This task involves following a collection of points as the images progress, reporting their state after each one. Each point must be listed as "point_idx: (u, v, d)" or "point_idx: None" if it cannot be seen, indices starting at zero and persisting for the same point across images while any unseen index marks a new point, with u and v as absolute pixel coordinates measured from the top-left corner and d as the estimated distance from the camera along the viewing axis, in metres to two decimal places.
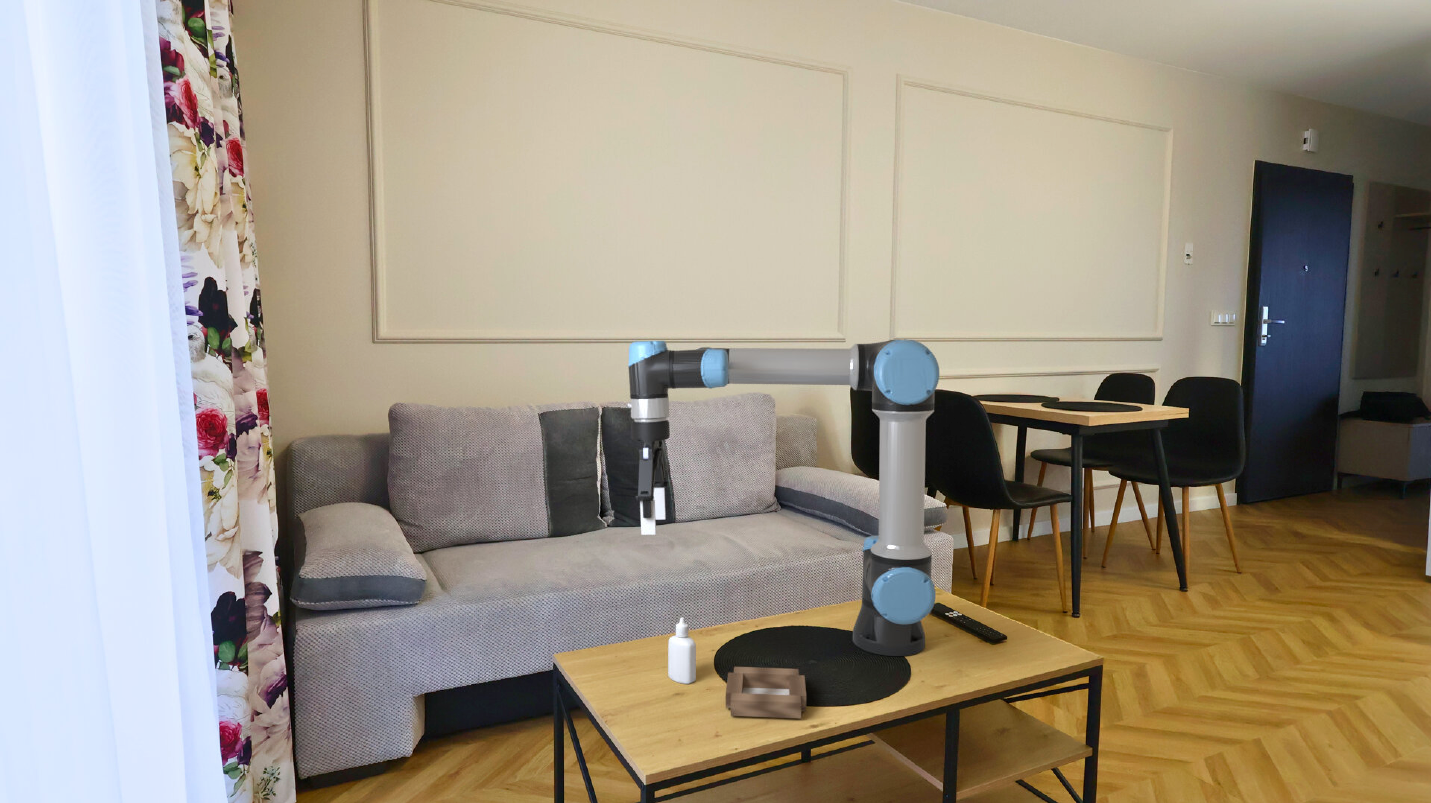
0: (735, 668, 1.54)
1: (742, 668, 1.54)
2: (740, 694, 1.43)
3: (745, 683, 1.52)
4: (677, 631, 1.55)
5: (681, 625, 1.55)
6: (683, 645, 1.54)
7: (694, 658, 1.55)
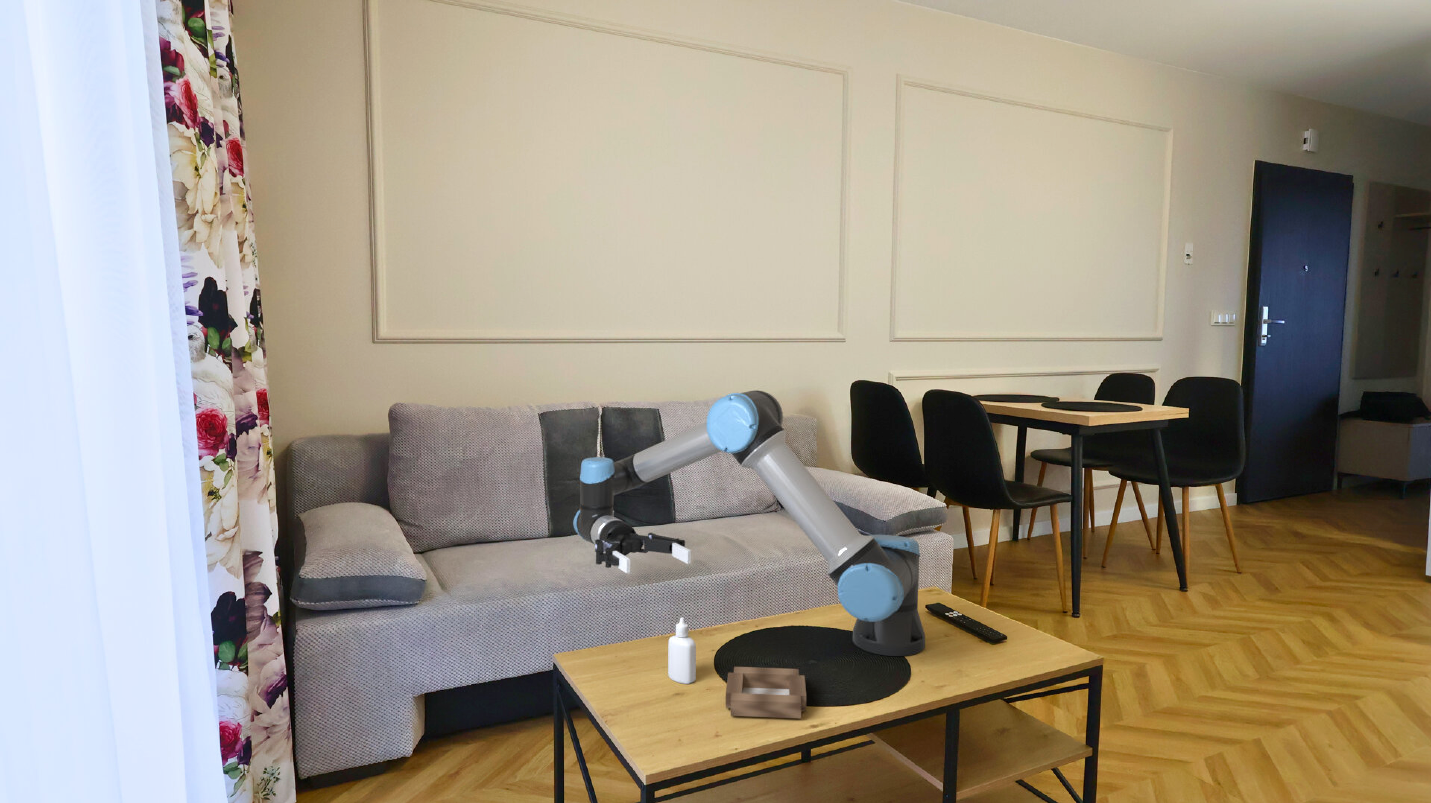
0: (735, 668, 1.54)
1: (742, 668, 1.54)
2: (740, 694, 1.43)
3: (745, 683, 1.52)
4: (677, 631, 1.55)
5: (681, 625, 1.55)
6: (683, 645, 1.54)
7: (694, 658, 1.55)
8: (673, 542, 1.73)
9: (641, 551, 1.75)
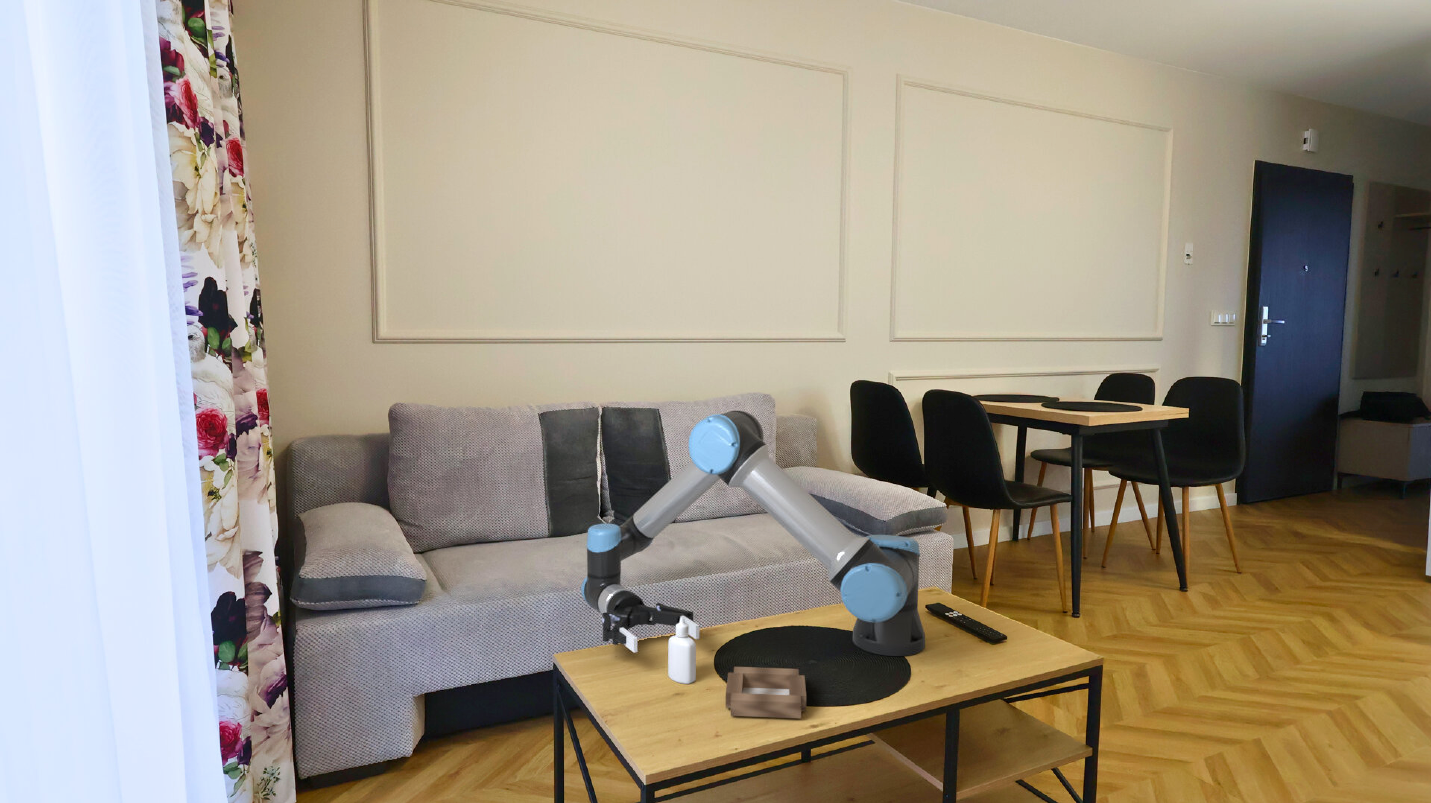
0: (735, 668, 1.54)
1: (742, 668, 1.54)
2: (740, 694, 1.43)
3: (745, 683, 1.52)
4: (677, 631, 1.55)
5: (681, 625, 1.55)
6: (683, 645, 1.54)
7: (694, 658, 1.55)
8: (681, 615, 1.70)
9: (649, 623, 1.72)
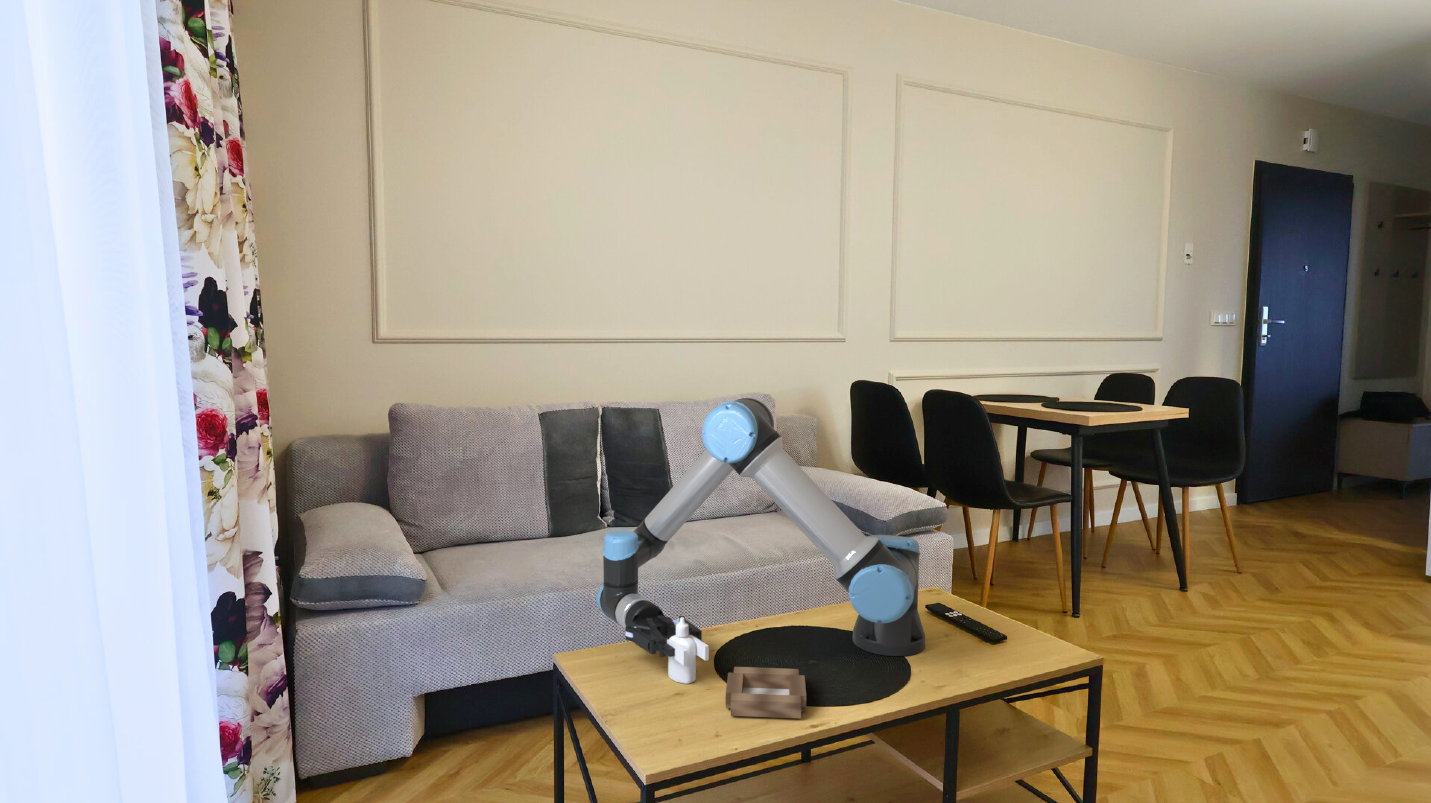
0: (735, 668, 1.54)
1: (742, 668, 1.54)
2: (740, 694, 1.43)
3: (745, 683, 1.52)
4: (677, 631, 1.55)
5: (681, 625, 1.55)
6: (683, 645, 1.54)
7: (694, 658, 1.55)
8: (689, 633, 1.59)
9: (665, 636, 1.65)
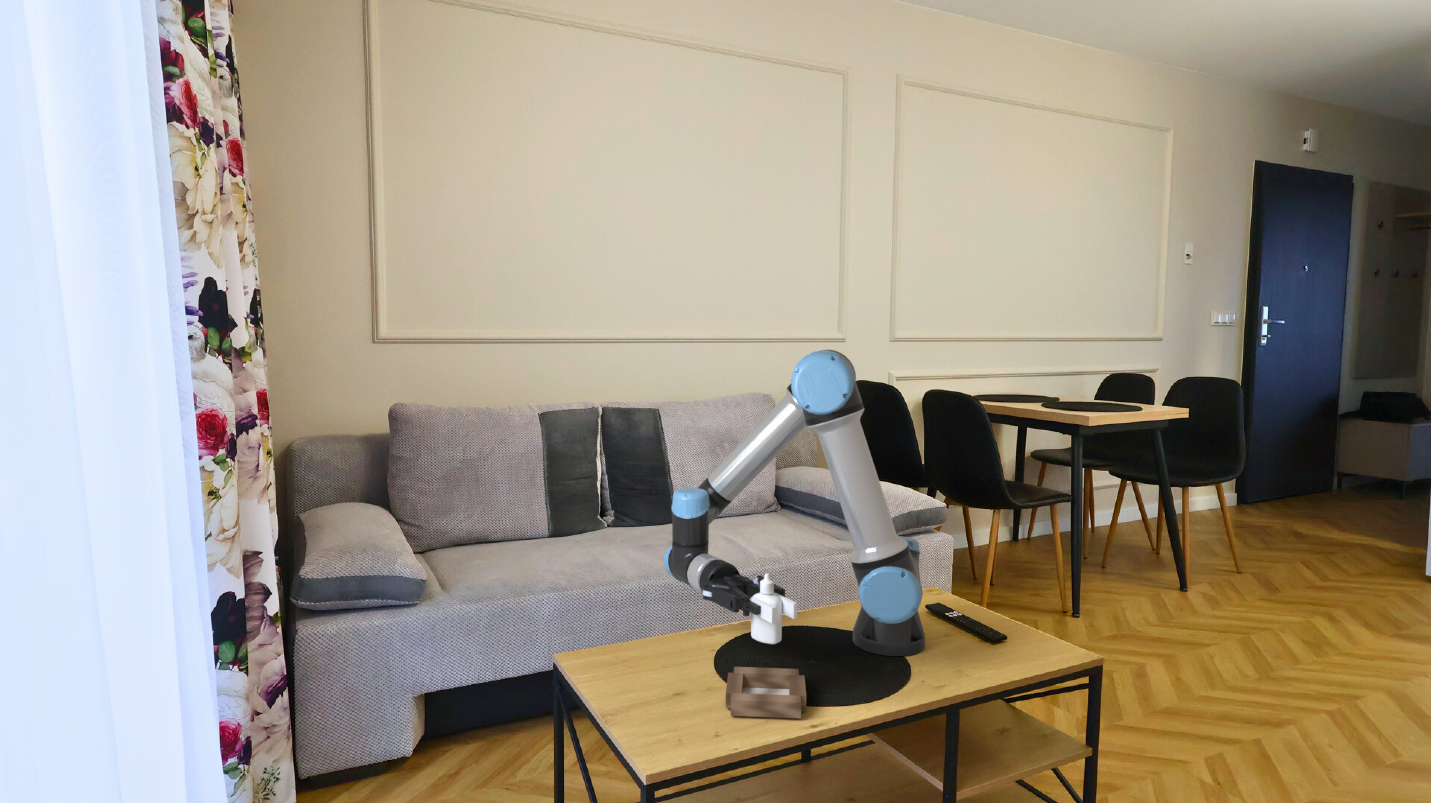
0: (735, 668, 1.54)
1: (742, 668, 1.54)
2: (740, 694, 1.43)
3: (745, 683, 1.52)
4: (762, 588, 1.45)
5: (766, 581, 1.45)
6: (769, 602, 1.44)
7: (780, 617, 1.45)
8: None
9: None
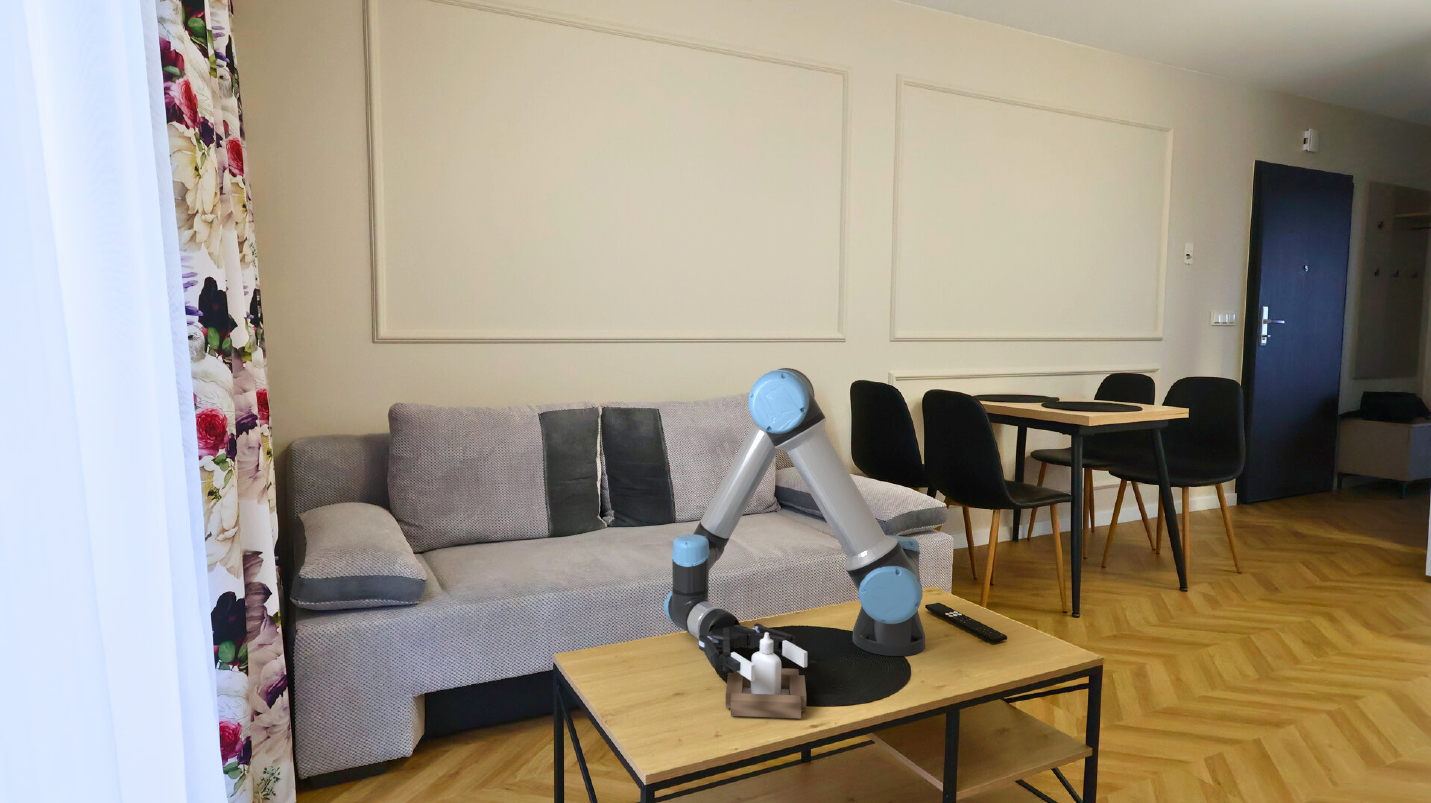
0: None
1: None
2: (740, 694, 1.43)
3: (745, 683, 1.52)
4: (761, 647, 1.46)
5: (766, 641, 1.46)
6: (769, 662, 1.45)
7: (779, 676, 1.46)
8: (782, 639, 1.53)
9: (747, 646, 1.56)
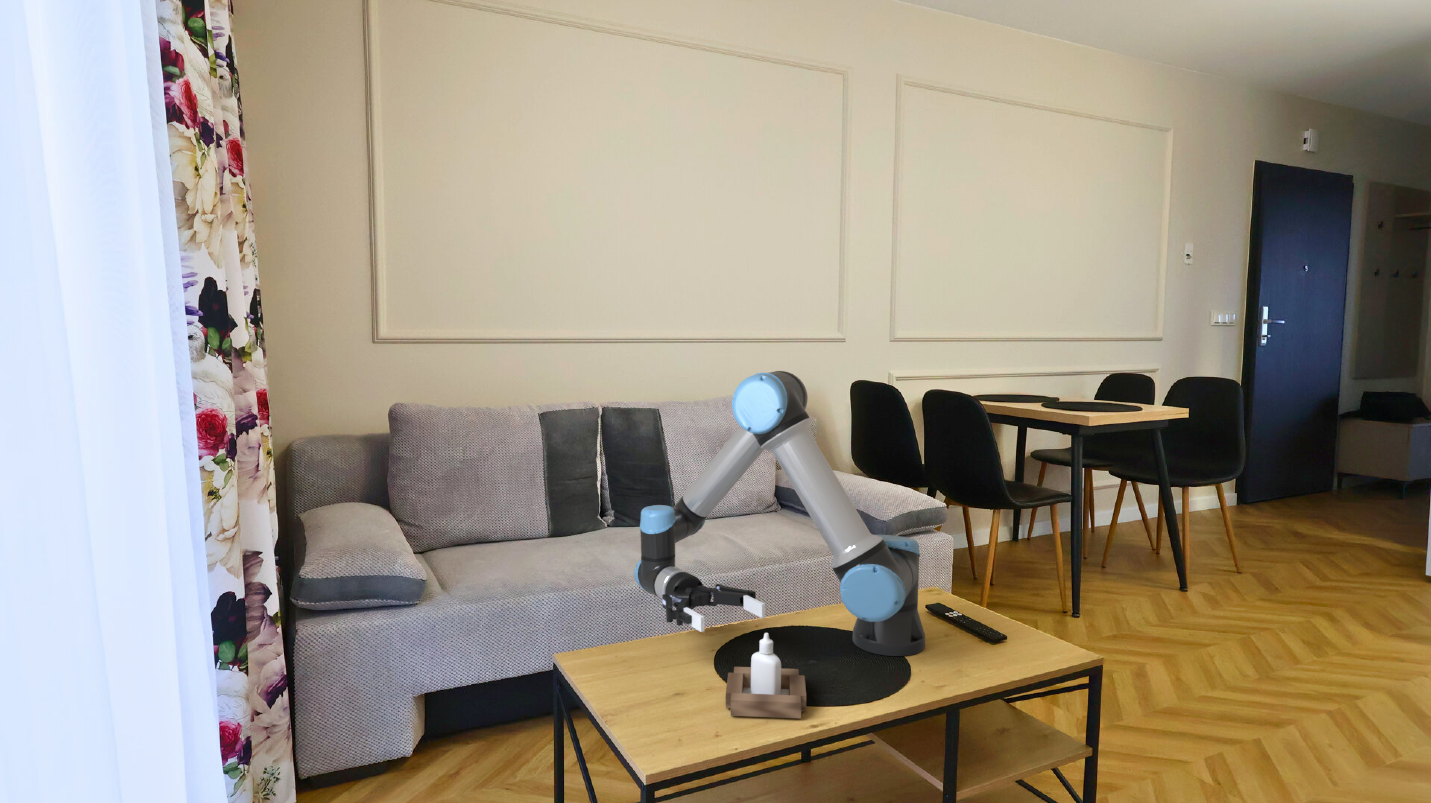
0: (735, 668, 1.54)
1: (742, 668, 1.54)
2: (740, 694, 1.43)
3: (745, 683, 1.52)
4: (761, 647, 1.46)
5: (765, 641, 1.46)
6: (768, 663, 1.45)
7: (779, 676, 1.46)
8: (744, 594, 1.65)
9: (710, 604, 1.67)
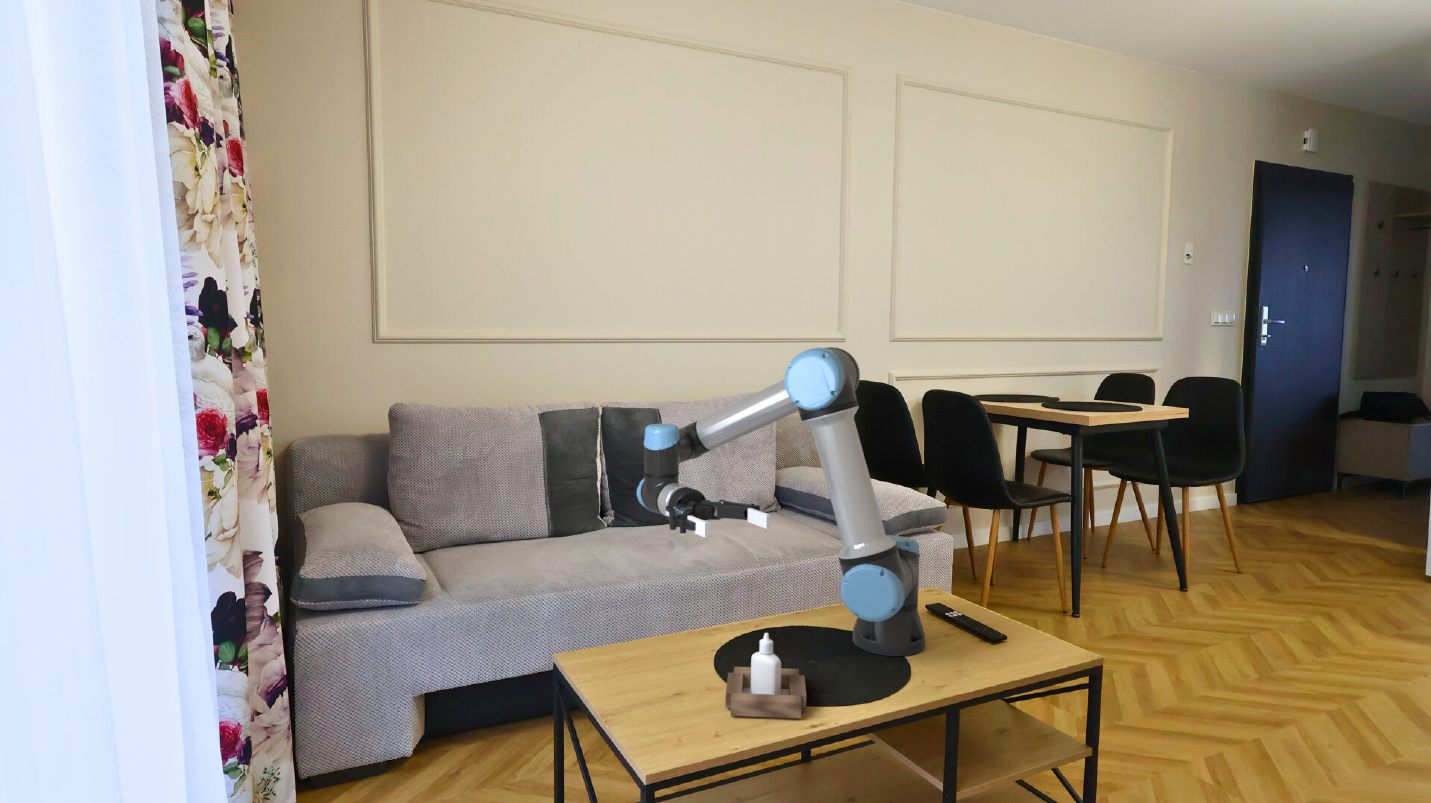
0: (735, 668, 1.54)
1: (742, 668, 1.54)
2: (740, 694, 1.43)
3: (745, 683, 1.52)
4: (761, 647, 1.46)
5: (765, 641, 1.46)
6: (768, 663, 1.45)
7: (779, 676, 1.46)
8: (748, 507, 1.63)
9: (714, 518, 1.65)
